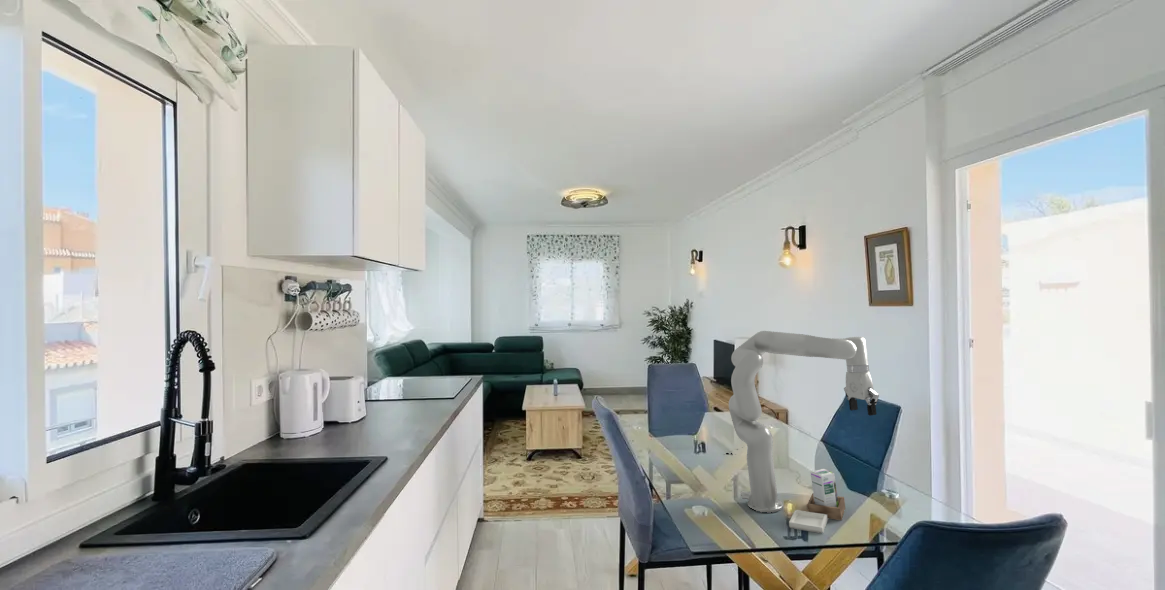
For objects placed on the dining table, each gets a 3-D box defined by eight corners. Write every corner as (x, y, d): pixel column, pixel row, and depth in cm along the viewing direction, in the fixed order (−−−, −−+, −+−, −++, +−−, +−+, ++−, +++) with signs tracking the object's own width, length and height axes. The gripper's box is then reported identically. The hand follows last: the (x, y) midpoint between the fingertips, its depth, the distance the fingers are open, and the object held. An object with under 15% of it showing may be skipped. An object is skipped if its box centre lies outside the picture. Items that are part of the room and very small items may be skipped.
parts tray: (789, 528, 164) (789, 522, 164) (796, 515, 173) (795, 509, 173) (822, 533, 158) (822, 527, 158) (827, 520, 167) (827, 514, 167)
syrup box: (826, 516, 169) (821, 475, 170) (814, 510, 175) (809, 470, 175) (839, 513, 171) (835, 472, 171) (827, 507, 176) (822, 467, 177)
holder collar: (808, 515, 172) (807, 504, 172) (813, 503, 180) (812, 493, 180) (841, 520, 165) (840, 508, 165) (845, 508, 174) (844, 497, 174)
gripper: (834, 367, 194) (839, 409, 194) (865, 372, 177) (871, 418, 177) (850, 365, 196) (855, 406, 195) (883, 370, 179) (888, 415, 178)
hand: (862, 412), depth 186 cm, fingers open, 9 cm apart
